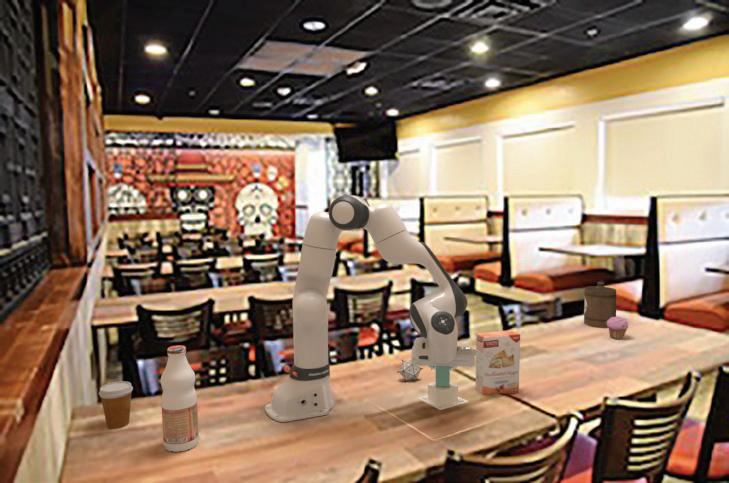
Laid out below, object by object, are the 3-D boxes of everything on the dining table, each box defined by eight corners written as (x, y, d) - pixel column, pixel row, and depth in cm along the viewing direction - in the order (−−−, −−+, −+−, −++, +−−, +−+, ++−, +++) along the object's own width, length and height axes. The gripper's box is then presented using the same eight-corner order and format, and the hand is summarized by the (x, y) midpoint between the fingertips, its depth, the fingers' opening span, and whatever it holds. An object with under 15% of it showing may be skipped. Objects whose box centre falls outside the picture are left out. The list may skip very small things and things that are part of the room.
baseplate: (440, 412, 172) (440, 409, 172) (417, 400, 182) (417, 397, 182) (468, 403, 178) (468, 400, 178) (444, 392, 188) (444, 389, 188)
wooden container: (592, 319, 286) (593, 277, 284) (621, 324, 275) (622, 281, 272) (578, 324, 276) (579, 281, 274) (607, 329, 265) (608, 285, 263)
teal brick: (449, 386, 177) (449, 362, 176) (435, 386, 177) (435, 362, 177) (449, 381, 181) (449, 358, 180) (435, 381, 182) (435, 357, 181)
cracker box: (483, 397, 183) (483, 337, 181) (474, 391, 189) (475, 332, 187) (520, 393, 187) (520, 333, 184) (510, 386, 192) (511, 329, 190)
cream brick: (441, 405, 175) (441, 390, 175) (427, 398, 181) (427, 384, 180) (458, 400, 179) (458, 386, 178) (444, 394, 185) (444, 379, 184)
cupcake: (602, 336, 253) (602, 315, 252) (617, 334, 256) (618, 313, 255) (616, 341, 245) (617, 319, 244) (632, 339, 247) (632, 318, 246)
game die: (414, 392, 199) (420, 376, 192) (392, 382, 200) (398, 366, 194) (420, 373, 206) (427, 357, 199) (399, 364, 207) (405, 348, 200)
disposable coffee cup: (125, 415, 174) (123, 378, 173) (140, 422, 168) (138, 385, 167) (95, 425, 167) (92, 387, 165) (110, 434, 160) (107, 394, 159)
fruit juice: (174, 456, 146) (168, 355, 143) (157, 445, 153) (152, 348, 150) (205, 444, 153) (200, 347, 150) (188, 434, 160) (183, 340, 157)
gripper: (476, 339, 169) (474, 360, 180) (410, 338, 172) (412, 358, 183) (477, 358, 165) (475, 378, 176) (409, 356, 168) (411, 375, 179)
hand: (442, 368), depth 179 cm, fingers open, 5 cm apart
